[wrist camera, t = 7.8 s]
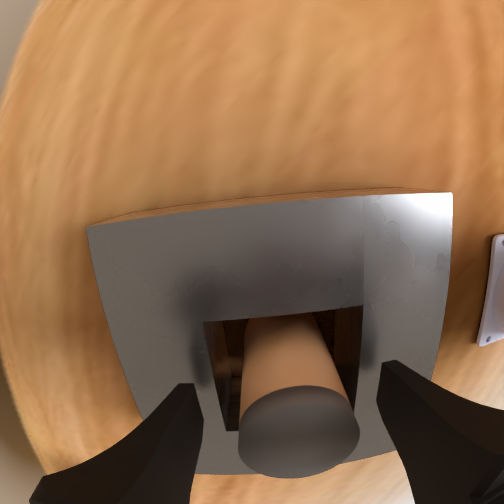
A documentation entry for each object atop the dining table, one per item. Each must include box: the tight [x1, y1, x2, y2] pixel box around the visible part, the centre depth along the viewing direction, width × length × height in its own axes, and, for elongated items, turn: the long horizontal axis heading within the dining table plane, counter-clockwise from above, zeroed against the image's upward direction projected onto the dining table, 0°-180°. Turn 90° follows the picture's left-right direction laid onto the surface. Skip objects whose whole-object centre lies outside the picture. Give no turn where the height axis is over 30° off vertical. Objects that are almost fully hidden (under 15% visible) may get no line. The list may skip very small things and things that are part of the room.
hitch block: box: [86, 187, 452, 475], centre depth 14 cm, size 14×14×4 cm
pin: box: [238, 312, 360, 479], centre depth 12 cm, size 4×4×8 cm
